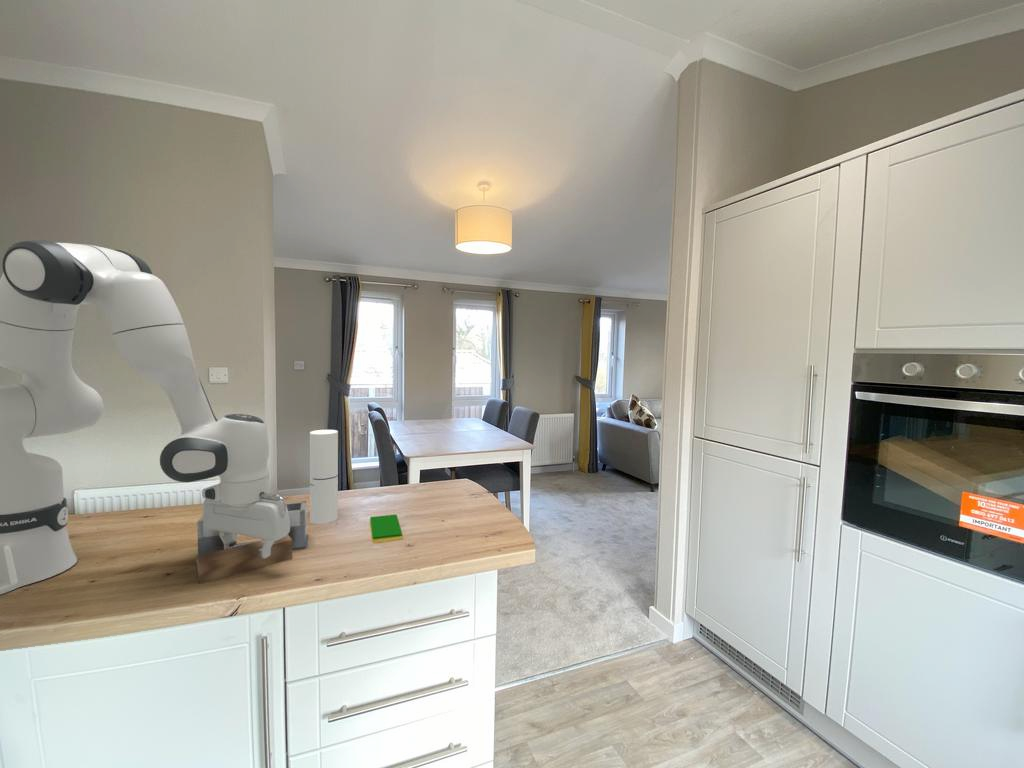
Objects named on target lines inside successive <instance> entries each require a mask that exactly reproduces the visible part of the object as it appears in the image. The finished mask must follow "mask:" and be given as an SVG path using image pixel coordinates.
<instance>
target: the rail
mask: <svg viewBox="0 0 1024 768" xmlns="http://www.w3.org/2000/svg"><path fill="white" fill-rule="evenodd" d="M258 541H259V542H254V543H250V544H246V545H241V546H237V547H233V548H229V549H224V550H220V551H216V552H212V553H207V554H203V555H199V556H198V555H196V560H197V564H196V569H197V570H196V571H197V572H196V573H197V574H196V575H197V581H198V584H199V585H200V584H204V583H207V582H212V581H215V580H218V579H219V580H220V579H223V578H227V577H229V576H233V575H237V574H241V573H244V572H248V571H252V570H255V569H259V568H263V567H266V566H271V565H273V564H278V563H281V562H284V561H289V560H292V559H293V550H292V539H291V538H290V536H289V535H287V536H285V537H283V538H281V539H279V540H277V541H274V543H273V545H272V547H271V554H270V556H269V557H267V558H261V557H259V556H258V555H259V553H258V550H259V549H261V548H262V547H263V545H264V543H262V541H260V540H258Z"/></svg>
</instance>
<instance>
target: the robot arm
mask: <svg viewBox="0 0 1024 768" xmlns="http://www.w3.org/2000/svg"><path fill="white" fill-rule="evenodd" d="M2 272H3V273H2V275H1V277H0V367H2V368H4V369H7V370H9V371H12V372H15V373H18V374H21V375H22V381H21V382H20V383H18V384H17V383H16V384H7V385H3V384H0V595H4V594H6V593H8V592H11V591H13V590H14V591H15V590H16V589H19V588H20V587H24V586H27V585H30V584H33V583H37V582H41V581H43V580H46V579H49V578H52V577H54V576H56V575H59V574H61V573H64V572H65V571H67V570H68V569H70V568H72V567H73V566H74V565H75V564H76V563H77V562H78V557H77V556H76V554H75V552H74V549H73V546H72V545H71V541H70V538H69V537H70V536H69V533H68V527H67V525H68V521H69V520H68V519H69V510H68V503H67V501H68V500H67V498H66V497H65V496H64V476H63V467H62V465H61V464H60V463H59V462H58V460H55V458H52V457H50V456H45V455H41V454H39V453H38V454H37V453H34V452H33V453H32V452H27V450H26V449H25V447H24V443H23V442H24V439H29V438H39V437H46V436H53V435H60V434H61V435H62V434H69V433H72V432H76V431H78V430H79V431H80V430H82V429H87V428H90V427H93V426H95V425H96V424H97V423H98V422H99V420H100V419H101V418H102V415H103V412H104V407H105V406H104V400H103V398H102V397H101V394H100V393H99V392H98V391H97V390H96V389H94V388H93V387H92V386H90V385H88V384H87V383H85V382H84V381H82V380H81V379H80V377H79V376H78V375H77V374H76V372H75V370H74V368H73V364H72V349H73V340H74V334H75V328H76V321H77V315H78V314H77V313H78V310H79V308H80V306H82V305H93V306H95V307H96V308H98V309H99V310H100V311H101V312H102V313H103V315H104V317H105V320H106V322H107V325H108V329H109V332H110V334H111V337H112V340H113V342H114V344H115V347H116V350H117V351H118V353H119V355H120V357H121V358H122V359H123V361H124V363H125V365H126V366H127V367H128V368H129V369H130V370H131V371H132V372H134V373H136V374H138V375H140V376H142V377H145V378H146V379H148V380H150V381H152V382H154V383H155V384H156V385H158V386H159V387H160V388H161V389H162V390H163V391H164V392H165V394H166V395H167V397H168V401H169V402H170V404H171V406H172V410H173V411H174V413H175V417H176V418H177V421H178V423H179V425H180V429H181V432H180V436H177V437H175V438H174V439H173V440H171V441H170V442H169V443H168V444H166V445H165V446H164V447H163V449H162V450H161V453H160V456H159V466H160V469H161V470H162V472H163V474H165V475H166V477H168V478H169V479H170V480H171V479H172V480H173V481H176V482H178V483H179V482H180V483H192V482H198V481H203V480H207V479H211V478H214V477H219V478H220V479H219V480H220V481H219V483H216V484H213V485H211V486H208V487H205V488H203V489H202V491H201V496H202V498H203V499H204V500H203V503H202V516H203V522H204V525H205V526H206V528H207V529H210V530H216V531H219V536H220V538H221V540H222V542H223V543H224V549H229V548H233V547H237V546H236V541H234V540H233V537H232V534H237V535H239V536H245V537H249V538H250V537H251V538H254V539H255V538H256V539H260V540H262V543H264V545H263V547H262V548H261V549H259V550H258V553H259V555H258V556H259V557H261V558H267V557H269V556H270V554H271V547H272V545H273V543H274V541H277V540H279V539H281V538H283V537H285V536H287V535H288V533H289V532H290V521H289V514H288V509H287V506H286V503H287V502H286V500H284V498H283V497H282V496H281V495H280V494H276V493H271V492H270V491H271V489H270V470H269V466H268V459H269V456H270V447H269V446H270V445H269V435H268V434H269V433H268V429H267V426H266V423H265V421H264V420H262V419H261V418H260V417H258V416H255V415H249V414H245V413H244V414H243V413H232V414H231V413H230V414H227V415H224V416H222V417H221V418H220V419H219V420H218V418H217V417H216V415H215V413H214V410H213V409H212V406H211V404H210V401H209V399H208V396H207V394H206V391H205V388H204V386H203V384H202V381H201V379H200V376H199V373H198V370H197V367H196V362H195V359H194V355H193V350H192V346H191V342H190V338H189V335H188V332H187V328H186V325H185V322H184V320H183V317H182V314H181V312H180V310H179V308H178V305H177V304H176V302H175V300H174V298H173V296H172V295H171V293H170V291H169V289H168V287H167V286H166V284H165V283H164V281H163V280H162V279H160V278H159V277H157V276H156V275H154V274H153V272H152V270H151V268H150V266H149V265H148V263H146V262H145V261H144V260H143V259H142V258H141V257H138V256H136V255H135V254H132V253H130V252H127V251H124V250H119V249H111V248H107V247H102V246H98V245H93V244H87V243H71V242H54V241H51V240H44V239H43V240H42V239H35V240H34V239H33V240H32V239H30V240H23V241H18V242H16V243H14V244H12V245H11V246H9V247H8V248H7V249H6V251H5V253H4V255H3V259H2ZM231 533H232V534H231Z"/></svg>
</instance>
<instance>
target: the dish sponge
mask: <svg viewBox="0 0 1024 768" xmlns="http://www.w3.org/2000/svg"><path fill="white" fill-rule="evenodd" d="M369 524H370V533H371V541H372V544H378V543H383V542H384V543H386V542H393V541H399V540H402V539H403V532H402V529H401V525H400V522H399V518H398V515H397V514H387V515H379V516H378V515H377V516H370V518H369Z"/></svg>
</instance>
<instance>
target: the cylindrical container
mask: <svg viewBox="0 0 1024 768" xmlns="http://www.w3.org/2000/svg"><path fill="white" fill-rule="evenodd" d="M338 519H339V431H338V430H337V429H319V430H318V429H317V430H312V431H310V432H309V522H310V524H312V525H326V524H331V523H334V522H336V521H337V520H338Z"/></svg>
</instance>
